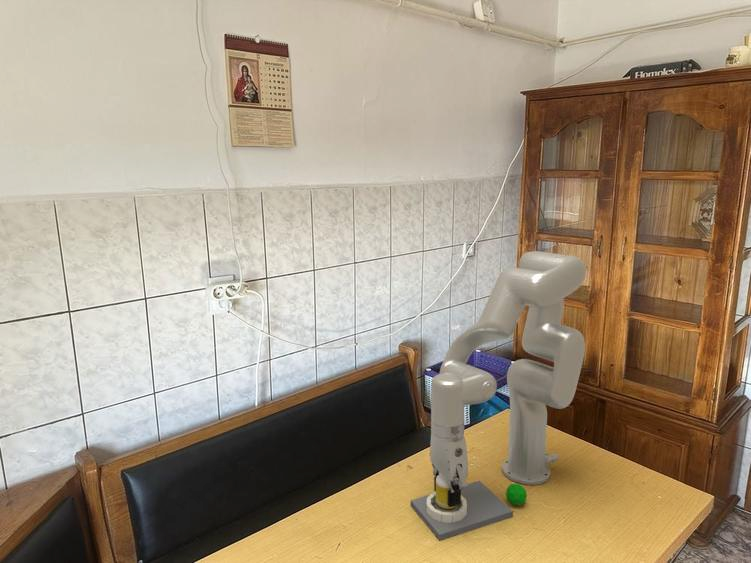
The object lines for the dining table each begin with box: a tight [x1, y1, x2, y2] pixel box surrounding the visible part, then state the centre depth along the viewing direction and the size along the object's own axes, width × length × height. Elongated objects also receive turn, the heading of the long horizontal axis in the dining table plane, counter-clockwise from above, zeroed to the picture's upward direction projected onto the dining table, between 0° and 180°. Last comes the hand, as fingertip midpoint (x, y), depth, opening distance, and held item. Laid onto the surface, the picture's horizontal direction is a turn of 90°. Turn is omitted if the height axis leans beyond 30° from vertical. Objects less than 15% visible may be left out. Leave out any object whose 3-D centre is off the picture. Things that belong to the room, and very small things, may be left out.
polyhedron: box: [505, 483, 528, 506], centre depth 131 cm, size 5×5×5 cm
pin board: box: [410, 480, 514, 542], centre depth 129 cm, size 20×14×4 cm
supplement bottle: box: [436, 472, 458, 512], centre depth 126 cm, size 5×5×10 cm
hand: (447, 496), depth 127 cm, fingers closed on supplement bottle, 5 cm apart
